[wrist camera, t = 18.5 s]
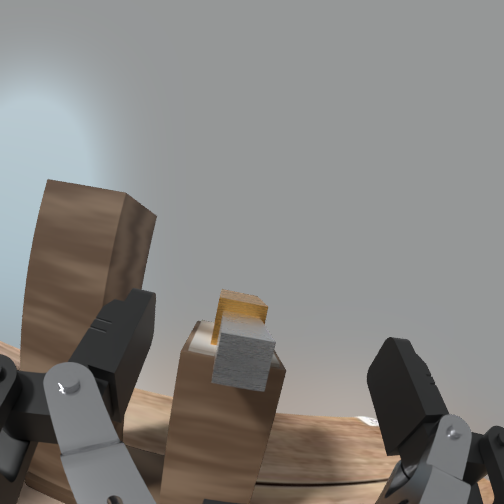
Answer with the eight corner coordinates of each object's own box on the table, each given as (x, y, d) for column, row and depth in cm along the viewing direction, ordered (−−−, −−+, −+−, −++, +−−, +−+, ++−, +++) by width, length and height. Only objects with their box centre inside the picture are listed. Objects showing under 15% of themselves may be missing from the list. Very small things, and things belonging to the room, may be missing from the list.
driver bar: (272, 392, 17) (288, 326, 17) (202, 380, 17) (215, 312, 17) (249, 330, 36) (257, 296, 36) (214, 323, 36) (221, 289, 36)
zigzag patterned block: (235, 545, 22) (315, 230, 24) (26, 484, 21) (42, 176, 23) (231, 476, 36) (283, 243, 38) (71, 434, 35) (99, 205, 37)
